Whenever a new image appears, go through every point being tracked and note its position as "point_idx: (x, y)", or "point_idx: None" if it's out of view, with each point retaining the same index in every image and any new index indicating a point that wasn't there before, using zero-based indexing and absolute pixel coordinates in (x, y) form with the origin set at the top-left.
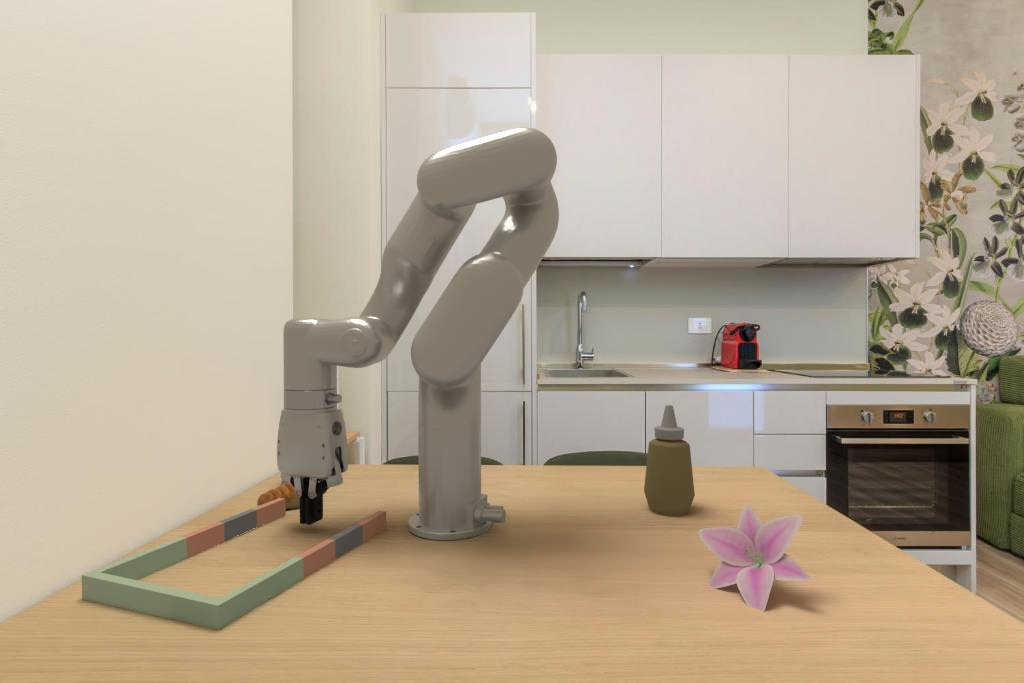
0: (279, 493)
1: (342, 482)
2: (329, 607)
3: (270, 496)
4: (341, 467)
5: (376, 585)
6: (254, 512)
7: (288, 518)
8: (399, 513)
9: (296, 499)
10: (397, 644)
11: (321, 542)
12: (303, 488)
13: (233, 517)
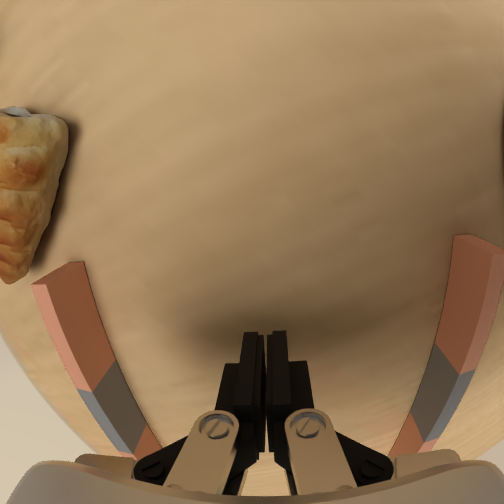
0: (3, 249)
1: (455, 453)
2: (448, 448)
3: (4, 269)
4: (451, 484)
5: (487, 404)
6: (97, 395)
7: (99, 267)
8: (420, 68)
9: (39, 208)
10: (501, 432)
11: (417, 452)
12: (243, 479)
13: (112, 434)
